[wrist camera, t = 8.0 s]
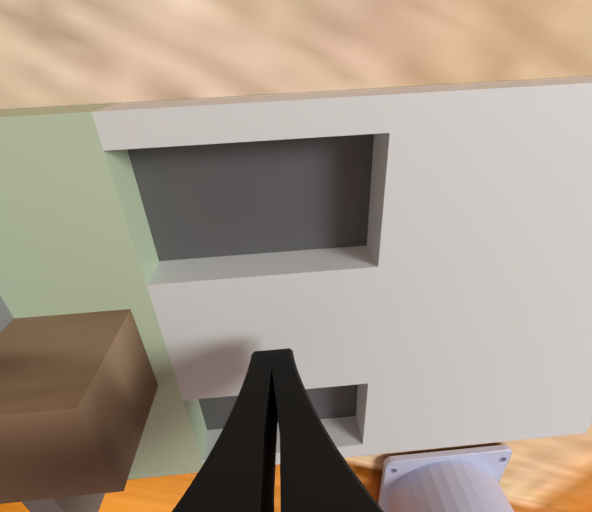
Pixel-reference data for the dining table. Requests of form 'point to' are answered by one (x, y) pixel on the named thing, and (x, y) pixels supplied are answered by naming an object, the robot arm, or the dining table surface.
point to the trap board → (321, 256)
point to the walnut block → (71, 404)
